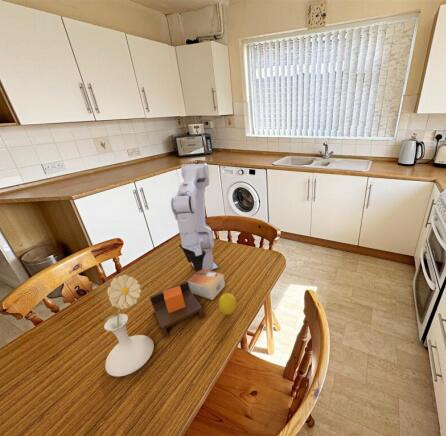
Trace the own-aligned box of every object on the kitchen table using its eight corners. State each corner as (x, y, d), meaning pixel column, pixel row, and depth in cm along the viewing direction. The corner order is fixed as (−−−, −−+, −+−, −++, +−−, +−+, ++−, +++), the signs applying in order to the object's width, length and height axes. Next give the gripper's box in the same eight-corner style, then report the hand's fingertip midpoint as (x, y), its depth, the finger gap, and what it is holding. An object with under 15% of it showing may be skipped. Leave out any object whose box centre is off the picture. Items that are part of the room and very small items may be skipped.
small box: (210, 288, 80) (186, 280, 84) (212, 300, 83) (189, 292, 87) (223, 274, 87) (200, 267, 91) (225, 285, 90) (203, 279, 93)
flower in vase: (121, 389, 57) (83, 313, 46) (99, 365, 63) (59, 292, 52) (169, 347, 67) (146, 275, 56) (145, 329, 73) (120, 262, 62)
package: (168, 313, 73) (164, 299, 71) (166, 304, 76) (162, 291, 74) (185, 307, 75) (182, 293, 73) (183, 298, 79) (179, 285, 76)
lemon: (240, 309, 78) (238, 291, 75) (231, 322, 74) (228, 303, 71) (227, 305, 81) (224, 286, 77) (216, 317, 76) (213, 298, 73)
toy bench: (155, 312, 79) (149, 296, 76) (190, 296, 85) (186, 280, 82) (164, 337, 70) (159, 320, 67) (203, 316, 76) (200, 300, 73)
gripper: (208, 234, 76) (213, 270, 81) (193, 221, 87) (199, 254, 92) (186, 240, 72) (193, 278, 77) (173, 226, 83) (180, 260, 88)
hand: (195, 265), depth 84 cm, fingers open, 7 cm apart
